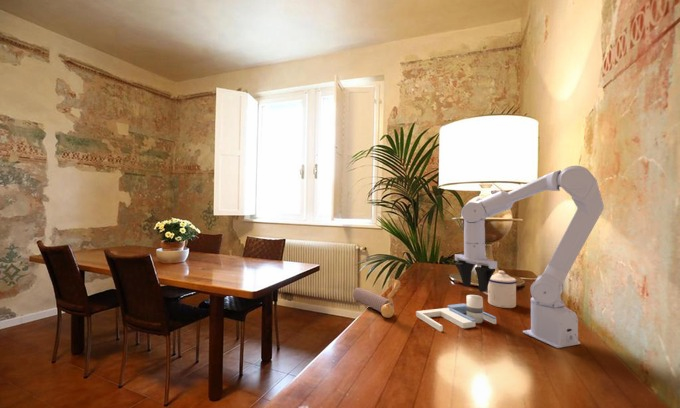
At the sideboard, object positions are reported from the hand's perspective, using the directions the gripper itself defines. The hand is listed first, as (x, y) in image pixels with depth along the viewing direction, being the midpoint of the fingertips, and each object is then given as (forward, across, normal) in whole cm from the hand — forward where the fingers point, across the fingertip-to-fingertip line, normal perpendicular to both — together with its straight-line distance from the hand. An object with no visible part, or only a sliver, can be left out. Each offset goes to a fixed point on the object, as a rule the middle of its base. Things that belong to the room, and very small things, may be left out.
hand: (474, 288), depth 88 cm
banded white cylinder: (+9, 0, 0) cm, 9 cm away
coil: (+10, +21, +24) cm, 33 cm away
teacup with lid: (+10, +10, -20) cm, 24 cm away
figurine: (+10, +10, +23) cm, 27 cm away
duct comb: (+9, +2, +5) cm, 11 cm away
